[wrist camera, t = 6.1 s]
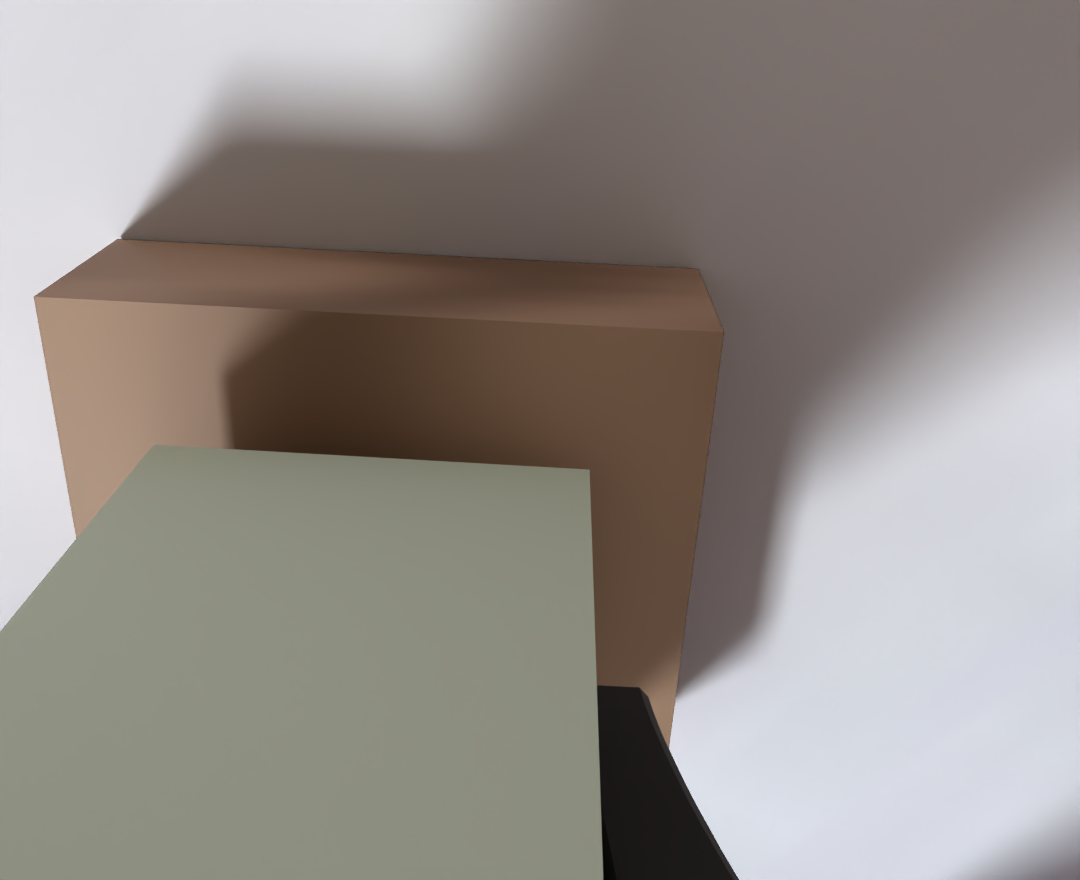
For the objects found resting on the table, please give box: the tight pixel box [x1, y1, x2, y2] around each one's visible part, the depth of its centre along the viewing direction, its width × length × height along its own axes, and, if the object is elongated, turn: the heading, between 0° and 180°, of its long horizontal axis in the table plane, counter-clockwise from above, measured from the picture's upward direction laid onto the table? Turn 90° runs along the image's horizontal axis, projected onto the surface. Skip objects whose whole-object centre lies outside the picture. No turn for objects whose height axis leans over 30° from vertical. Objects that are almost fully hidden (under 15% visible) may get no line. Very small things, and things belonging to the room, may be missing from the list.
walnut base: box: [34, 239, 724, 748], centre depth 15 cm, size 8×8×2 cm
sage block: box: [0, 445, 603, 880], centre depth 10 cm, size 5×5×6 cm
